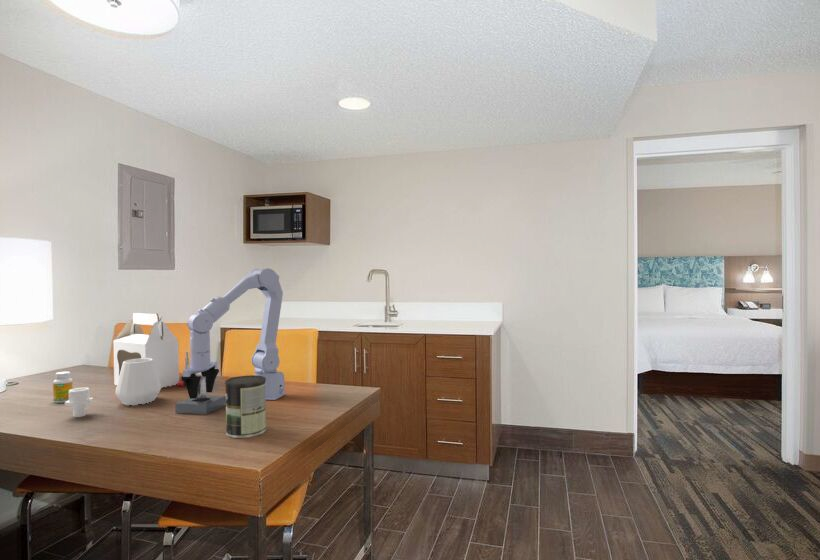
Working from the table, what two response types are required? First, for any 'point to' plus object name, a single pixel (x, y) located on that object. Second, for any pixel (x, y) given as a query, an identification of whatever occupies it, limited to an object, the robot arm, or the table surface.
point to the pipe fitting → (79, 401)
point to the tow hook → (185, 368)
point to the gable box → (148, 347)
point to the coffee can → (245, 406)
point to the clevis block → (200, 405)
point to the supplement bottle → (62, 387)
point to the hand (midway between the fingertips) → (201, 395)
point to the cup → (138, 382)
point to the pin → (201, 390)
